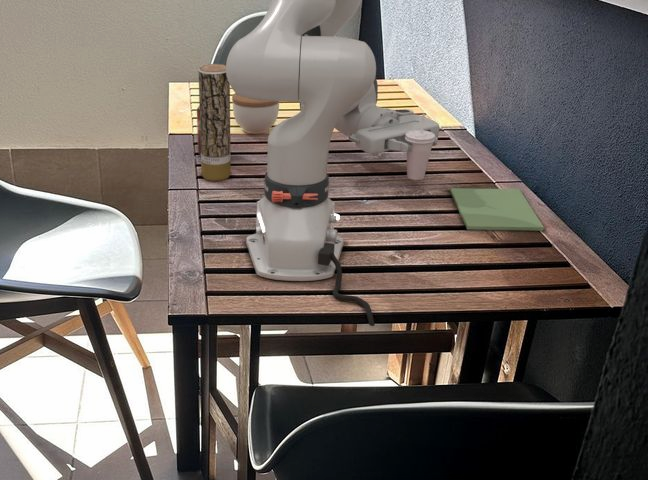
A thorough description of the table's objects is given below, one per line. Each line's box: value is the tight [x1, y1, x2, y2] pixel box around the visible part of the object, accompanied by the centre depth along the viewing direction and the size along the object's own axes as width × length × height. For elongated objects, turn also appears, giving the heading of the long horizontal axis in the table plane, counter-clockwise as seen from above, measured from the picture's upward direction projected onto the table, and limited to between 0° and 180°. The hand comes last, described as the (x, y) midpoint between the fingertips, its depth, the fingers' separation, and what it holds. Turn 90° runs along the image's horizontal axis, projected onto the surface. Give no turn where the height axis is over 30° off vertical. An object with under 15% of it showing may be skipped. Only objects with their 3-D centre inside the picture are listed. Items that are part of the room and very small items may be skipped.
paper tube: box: [198, 63, 232, 182], centre depth 182 cm, size 7×7×25 cm
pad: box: [449, 187, 545, 232], centre depth 170 cm, size 20×15×1 cm
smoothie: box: [405, 113, 435, 181], centre depth 176 cm, size 6×6×14 cm
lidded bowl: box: [231, 92, 280, 135], centre depth 215 cm, size 13×13×11 cm
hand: (422, 145), depth 175 cm, fingers closed on smoothie, 6 cm apart
